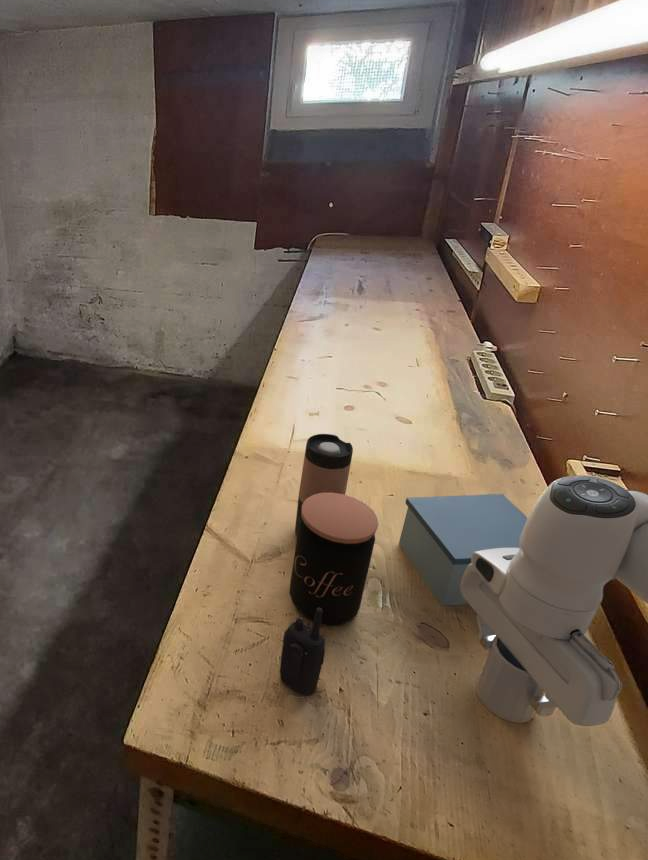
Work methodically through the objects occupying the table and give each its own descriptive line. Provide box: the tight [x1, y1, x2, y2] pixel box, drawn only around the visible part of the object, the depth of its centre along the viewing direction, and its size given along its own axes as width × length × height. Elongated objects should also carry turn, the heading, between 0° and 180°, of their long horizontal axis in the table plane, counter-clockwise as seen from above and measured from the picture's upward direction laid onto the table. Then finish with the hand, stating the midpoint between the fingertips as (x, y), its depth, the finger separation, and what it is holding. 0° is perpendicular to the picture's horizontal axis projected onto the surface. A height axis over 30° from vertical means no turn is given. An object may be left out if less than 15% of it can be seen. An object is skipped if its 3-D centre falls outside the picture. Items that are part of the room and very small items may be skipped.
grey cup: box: [475, 636, 546, 724], centre depth 73 cm, size 7×7×9 cm
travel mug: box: [294, 433, 354, 538], centre depth 100 cm, size 8×8×20 cm
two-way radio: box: [279, 608, 326, 696], centre depth 75 cm, size 6×4×15 cm
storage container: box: [398, 493, 528, 606], centre depth 93 cm, size 17×15×10 cm
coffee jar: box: [289, 493, 379, 627], centre depth 87 cm, size 11×11×18 cm
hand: (511, 675), depth 73 cm, fingers open, 8 cm apart
